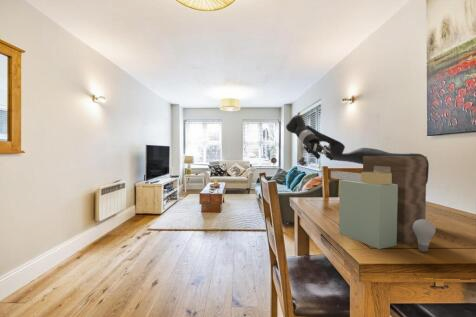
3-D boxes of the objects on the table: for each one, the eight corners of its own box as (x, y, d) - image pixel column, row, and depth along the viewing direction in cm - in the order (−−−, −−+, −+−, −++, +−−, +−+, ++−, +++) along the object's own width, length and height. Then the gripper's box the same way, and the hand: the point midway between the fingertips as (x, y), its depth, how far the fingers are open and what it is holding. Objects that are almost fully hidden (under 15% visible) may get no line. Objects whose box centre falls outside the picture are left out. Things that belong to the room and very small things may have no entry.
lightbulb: (439, 256, 76) (440, 222, 76) (417, 254, 78) (418, 221, 77) (428, 249, 82) (428, 217, 82) (408, 247, 84) (409, 216, 83)
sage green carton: (355, 230, 102) (355, 179, 102) (396, 245, 85) (397, 184, 85) (338, 232, 99) (339, 180, 98) (378, 249, 82) (380, 185, 82)
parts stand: (381, 226, 108) (382, 156, 107) (424, 239, 91) (426, 156, 91) (361, 229, 103) (362, 156, 103) (403, 244, 87) (405, 156, 86)
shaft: (338, 177, 108) (338, 168, 108) (391, 184, 85) (391, 173, 85) (328, 178, 106) (328, 169, 106) (380, 185, 83) (380, 173, 83)
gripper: (316, 146, 131) (332, 165, 119) (295, 144, 125) (310, 163, 113) (322, 135, 127) (340, 153, 115) (301, 132, 121) (318, 150, 109)
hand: (325, 158), depth 114 cm, fingers open, 8 cm apart
